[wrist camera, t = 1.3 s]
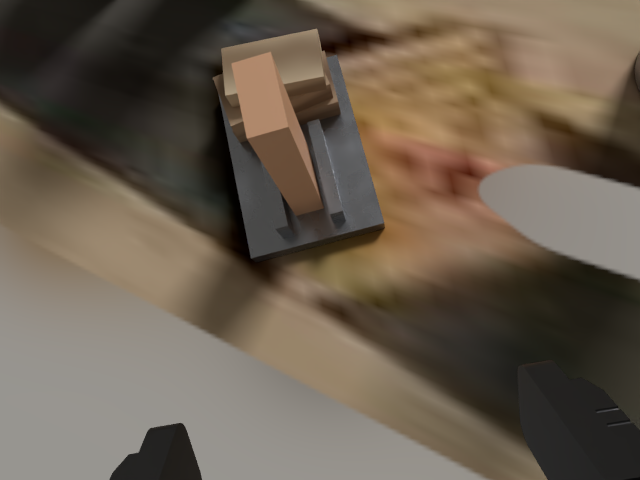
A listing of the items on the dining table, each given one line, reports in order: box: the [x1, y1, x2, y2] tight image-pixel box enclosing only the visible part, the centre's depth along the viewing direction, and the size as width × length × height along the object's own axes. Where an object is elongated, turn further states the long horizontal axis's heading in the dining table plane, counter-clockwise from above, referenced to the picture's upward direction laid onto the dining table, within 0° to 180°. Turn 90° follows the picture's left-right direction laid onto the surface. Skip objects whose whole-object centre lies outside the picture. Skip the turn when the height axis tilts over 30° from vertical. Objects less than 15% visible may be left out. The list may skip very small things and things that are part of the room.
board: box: [231, 52, 324, 216], centre depth 36 cm, size 5×2×14 cm, turn 13°
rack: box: [219, 55, 385, 262], centre depth 43 cm, size 16×11×4 cm
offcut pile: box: [213, 29, 341, 143], centre depth 42 cm, size 6×9×6 cm, turn 103°
